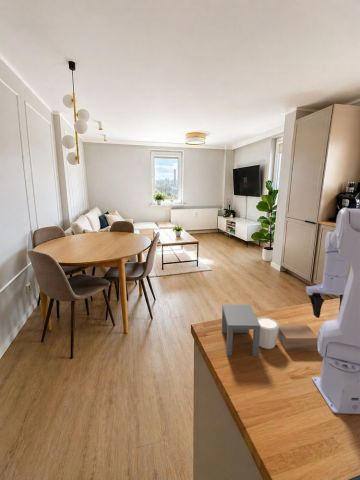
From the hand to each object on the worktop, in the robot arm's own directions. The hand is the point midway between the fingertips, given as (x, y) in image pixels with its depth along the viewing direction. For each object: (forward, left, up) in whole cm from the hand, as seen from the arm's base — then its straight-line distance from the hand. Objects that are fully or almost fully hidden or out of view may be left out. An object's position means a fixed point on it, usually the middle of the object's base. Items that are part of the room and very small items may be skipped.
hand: (329, 316), depth 71 cm
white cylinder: (0, +18, -10) cm, 21 cm away
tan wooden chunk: (0, +9, -10) cm, 13 cm away
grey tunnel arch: (0, +27, -9) cm, 28 cm away
